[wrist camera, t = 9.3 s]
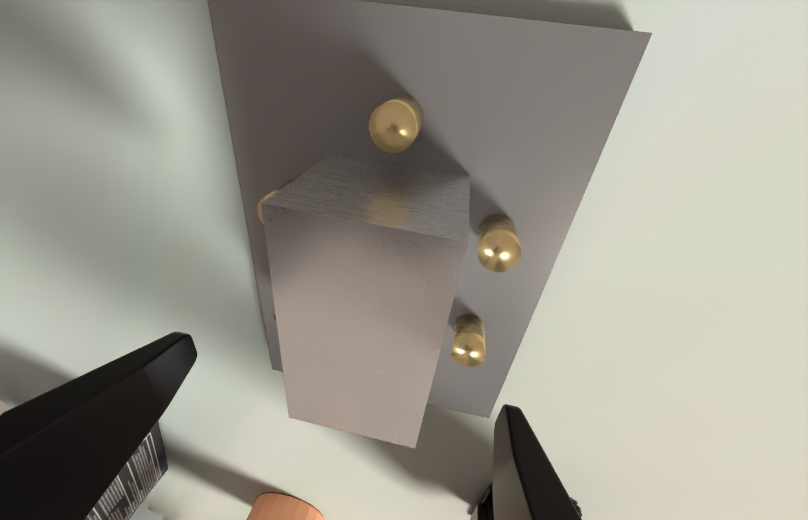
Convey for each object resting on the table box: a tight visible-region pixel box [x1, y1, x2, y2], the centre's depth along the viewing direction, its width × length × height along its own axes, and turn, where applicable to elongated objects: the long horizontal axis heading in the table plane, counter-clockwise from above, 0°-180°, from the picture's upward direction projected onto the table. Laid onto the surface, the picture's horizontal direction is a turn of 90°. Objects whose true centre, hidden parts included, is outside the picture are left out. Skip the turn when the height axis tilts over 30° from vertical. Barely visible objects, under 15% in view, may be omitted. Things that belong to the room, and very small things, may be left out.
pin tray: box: [208, 0, 652, 418], centre depth 14 cm, size 13×18×3 cm
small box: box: [85, 421, 168, 520], centre depth 27 cm, size 11×6×10 cm, turn 162°
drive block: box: [261, 152, 470, 448], centre depth 12 cm, size 5×9×5 cm, turn 174°
